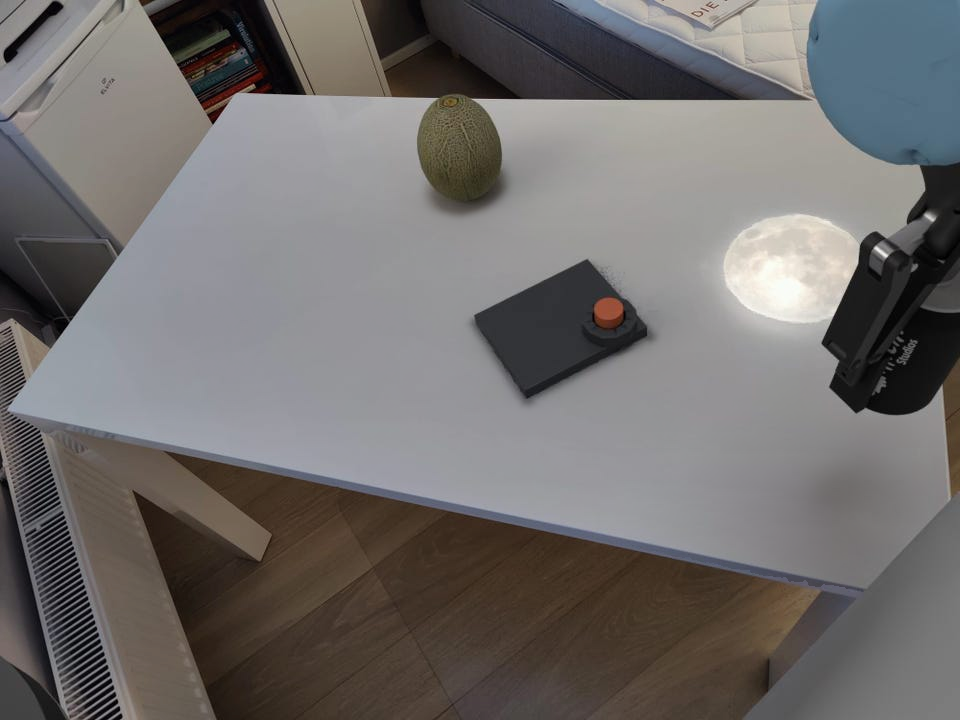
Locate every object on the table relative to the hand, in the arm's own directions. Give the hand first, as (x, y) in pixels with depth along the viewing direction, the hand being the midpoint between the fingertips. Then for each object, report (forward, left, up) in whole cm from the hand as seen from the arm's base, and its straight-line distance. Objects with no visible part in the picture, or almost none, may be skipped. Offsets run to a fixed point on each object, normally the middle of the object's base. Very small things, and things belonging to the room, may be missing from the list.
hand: (886, 375), depth 52 cm
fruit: (-9, +60, -20) cm, 64 cm away
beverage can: (0, 0, -1) cm, 1 cm away
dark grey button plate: (-11, +31, -20) cm, 39 cm away
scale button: (-7, +27, -16) cm, 33 cm away
